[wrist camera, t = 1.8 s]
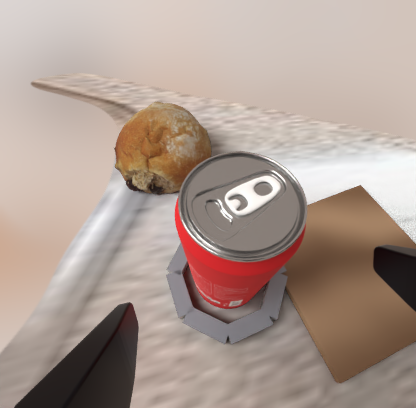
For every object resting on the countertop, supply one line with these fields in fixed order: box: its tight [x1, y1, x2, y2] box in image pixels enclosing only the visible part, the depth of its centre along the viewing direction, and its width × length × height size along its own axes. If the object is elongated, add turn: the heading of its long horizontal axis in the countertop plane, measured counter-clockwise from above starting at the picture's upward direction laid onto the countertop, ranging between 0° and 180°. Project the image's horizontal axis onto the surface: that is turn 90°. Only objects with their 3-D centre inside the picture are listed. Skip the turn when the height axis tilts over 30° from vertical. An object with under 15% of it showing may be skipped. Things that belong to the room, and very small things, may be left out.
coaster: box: [282, 185, 416, 383], centre depth 18 cm, size 12×12×1 cm
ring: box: [166, 243, 288, 344], centre depth 18 cm, size 9×9×1 cm
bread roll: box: [115, 102, 211, 194], centre depth 23 cm, size 10×10×8 cm
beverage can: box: [175, 151, 307, 309], centre depth 13 cm, size 5×5×12 cm
